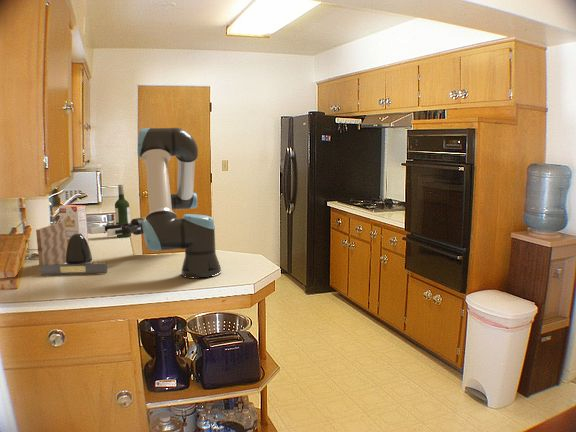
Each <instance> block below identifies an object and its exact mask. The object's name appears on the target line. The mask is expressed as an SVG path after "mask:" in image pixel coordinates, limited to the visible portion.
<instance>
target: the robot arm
mask: <svg viewBox="0 0 576 432" xmlns="http://www.w3.org/2000/svg"><path fill="white" fill-rule="evenodd" d="M137 156H138V157H139V158H141V160H142V162H143V163H144V164H145V169H146V183H147V197H148V199H147V200H148V209H149V210H148V211H149V212H148V213H147V214H146V215H145V216H144V217H137V218H132V219H130V224H129V223H125V224H117V225H116V224H103V225H102V226H94V227H90V228H89V229H90V230H89V231H90V235H93V234H102V233H103V234H107V237H112V236H117V235H120V234H122V233H123V234H130V233H131V234H133V235H134V236H138V235H143V237H144V242H145V243H144V244H145V246H146V249H147V250H148V251H150V252H164V251H165V252H166V251H173V250H175V251H176V250H184V253H185V254H184V259H183V263H182V267H181V276H182V275H183V276H186V277H194V278H193V279H200V278H199V277H208V276H212V275H215V274H217V273H219V272H220V271H221V272H222V268H221V264H220V261H219V260H218V259H219V258H218V256H217V253H216V238H215V237H216V233H215V230H216V228H215V221H214V218H213V217H212V216H210V215H209V216H208V215H203V214H195V213H193V214H192V213H186V214H183V215H182V218H178V217H177V213H175V212H174V211H173V210H190V209H196V208H197V207H198V195H197V192H194V190H195V174H196V172H195V171H196V169H195V168H196V160H197V159H198V157H199V147H198V144H197V142H196V140H195V138H194V137H193V135H191V134H190V132H188V131H187V130H185V129H182V128H179V127H156V128H155V127H153V128H152V127H147V128H145V127H144V128H141V129H140V130H139V131H138V135H137ZM174 156H175V158H176V159H177V178H176V179H177V180H176V181H177V183H176V185H177V186H176V187H177V189H176V193H171V185H170V174H169V164H168V163H169V162H170V161H171V158H172V157H174ZM183 276H182V277H183ZM186 277H185V278H186ZM195 277H197V278H195ZM208 278H209V277H208Z"/></svg>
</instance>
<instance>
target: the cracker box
mask: <svg viewBox="0 0 576 432" xmlns="http://www.w3.org/2000/svg"><path fill="white" fill-rule="evenodd" d="M58 211H59V220H60V221H59V222H64V221H66V233H67V245H68V242H69V239H70V238H71V236H72V235H74V234H80V233H81V234H82V235H83V236H84V238H85V239H86V241H87V243H88V244H89V235H88V234H89V233H88V222H87V209H86V205H78V204H77V205H75V204H64V205H62V204H61V205H58Z"/></svg>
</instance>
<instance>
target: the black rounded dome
mask: <svg viewBox="0 0 576 432" xmlns="http://www.w3.org/2000/svg"><path fill="white" fill-rule="evenodd" d="M92 261H93V255H92V251H91V248H90V246H89V242H88V243H87V241H86V239H85V238H84V236H83V235H82V234H81V233H80V234H74V235H72V236H71V238H70V239H69V242H68V244H67V250H66V263H65V264H86V263H92Z"/></svg>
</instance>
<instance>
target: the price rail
mask: <svg viewBox="0 0 576 432" xmlns="http://www.w3.org/2000/svg"><path fill="white" fill-rule="evenodd" d="M40 268H41V274H40V276H67V275H98V274H97V273H106V274H108V273H109V272H108V263H107V262H93V263H92V262H91V263H86V264H67V263H64V264H51V265H41V266H40V267H39V269H40ZM107 272H108V273H107Z"/></svg>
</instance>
